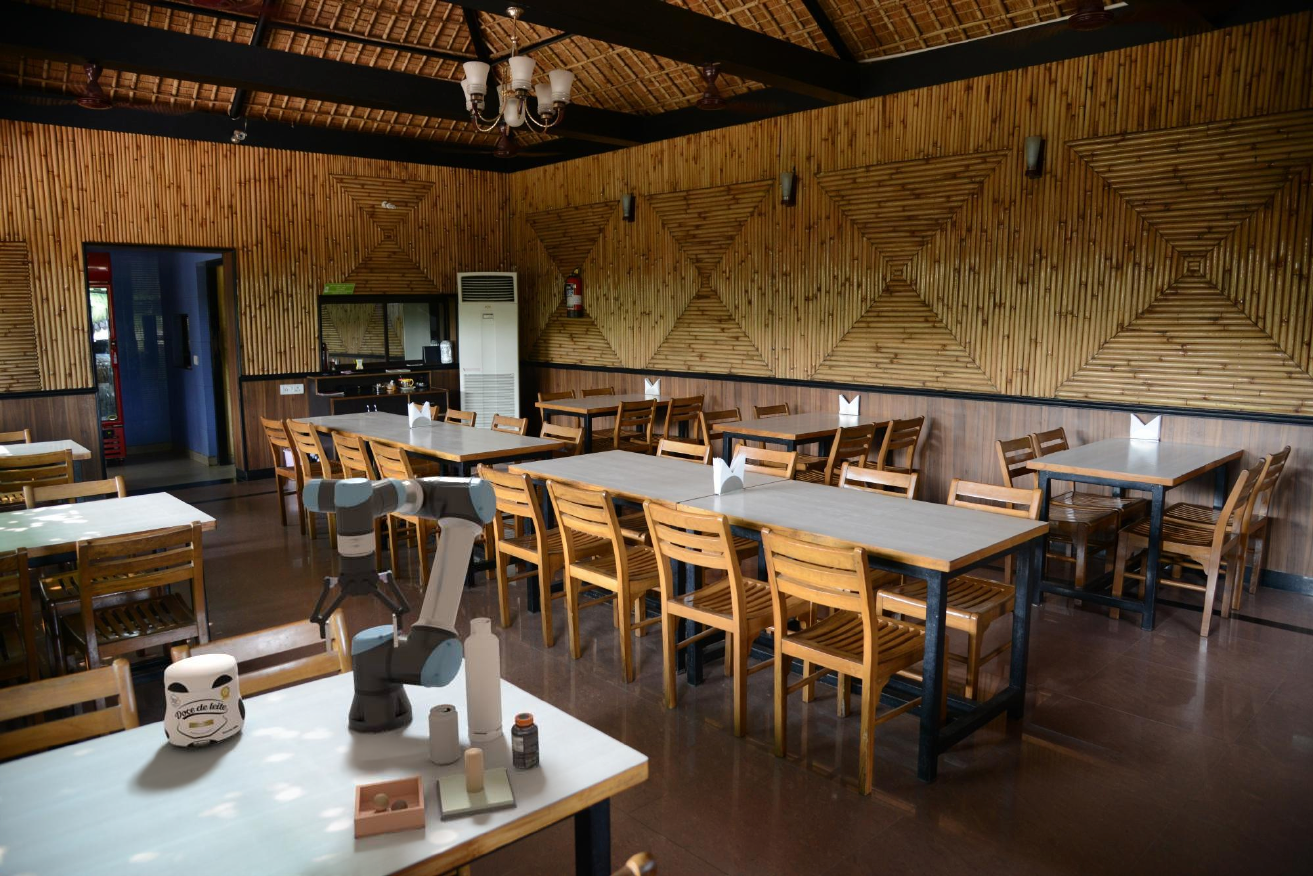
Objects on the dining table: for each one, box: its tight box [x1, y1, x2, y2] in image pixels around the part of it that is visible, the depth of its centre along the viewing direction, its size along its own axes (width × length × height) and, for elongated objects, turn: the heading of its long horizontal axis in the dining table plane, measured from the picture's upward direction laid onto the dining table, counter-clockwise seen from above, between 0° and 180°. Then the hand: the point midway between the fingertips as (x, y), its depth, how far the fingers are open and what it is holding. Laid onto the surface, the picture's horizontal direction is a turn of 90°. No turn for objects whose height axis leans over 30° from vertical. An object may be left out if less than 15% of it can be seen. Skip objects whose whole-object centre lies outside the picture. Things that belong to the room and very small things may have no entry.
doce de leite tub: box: [163, 653, 246, 749], centre depth 211 cm, size 17×17×18 cm
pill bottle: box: [510, 712, 540, 771], centre depth 196 cm, size 6×6×11 cm
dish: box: [353, 775, 426, 840], centre depth 177 cm, size 13×13×4 cm
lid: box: [438, 747, 514, 816], centre depth 184 cm, size 14×14×9 cm
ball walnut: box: [391, 799, 408, 811], centre depth 175 cm, size 3×3×3 cm
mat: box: [435, 768, 518, 821], centre depth 184 cm, size 15×15×1 cm
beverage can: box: [428, 703, 461, 766], centre depth 199 cm, size 6×6×12 cm
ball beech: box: [373, 794, 389, 811], centre depth 178 cm, size 3×3×3 cm
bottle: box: [463, 617, 503, 743], centre depth 210 cm, size 8×8×28 cm
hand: (363, 649), depth 189 cm, fingers open, 13 cm apart
